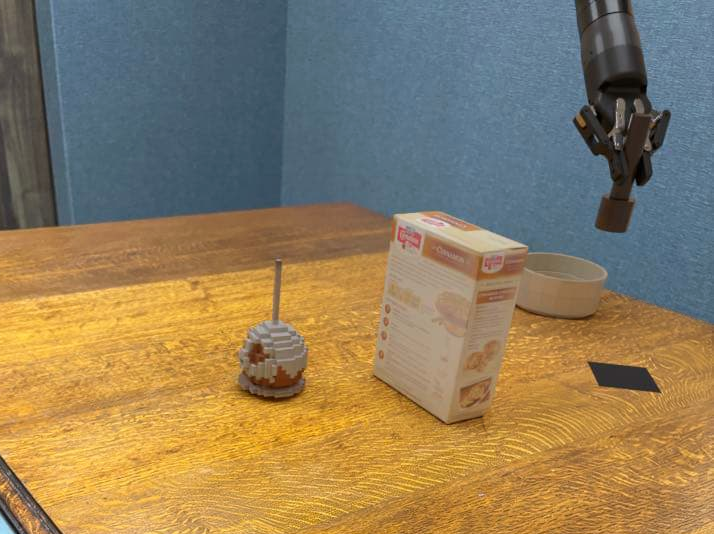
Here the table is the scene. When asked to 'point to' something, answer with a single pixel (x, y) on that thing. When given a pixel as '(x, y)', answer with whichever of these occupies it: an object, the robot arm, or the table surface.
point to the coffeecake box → (447, 312)
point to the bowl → (560, 285)
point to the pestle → (619, 203)
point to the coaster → (623, 377)
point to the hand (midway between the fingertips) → (633, 182)
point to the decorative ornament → (273, 354)
